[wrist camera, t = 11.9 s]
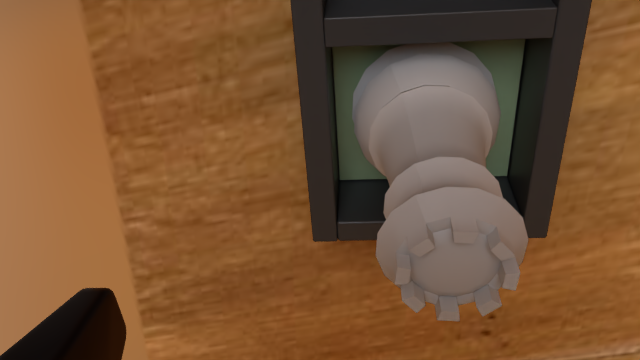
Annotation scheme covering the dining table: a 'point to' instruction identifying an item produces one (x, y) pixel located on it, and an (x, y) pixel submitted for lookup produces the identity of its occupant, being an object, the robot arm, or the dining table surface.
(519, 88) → the rack
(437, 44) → the rook chess piece
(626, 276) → the dining table surface
